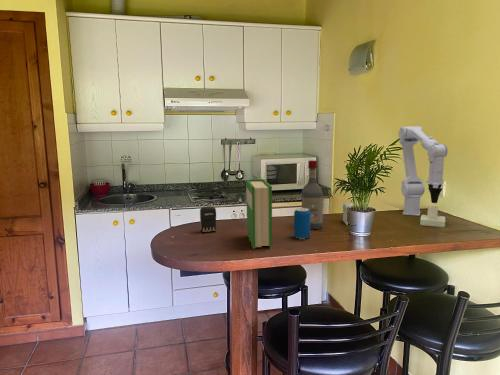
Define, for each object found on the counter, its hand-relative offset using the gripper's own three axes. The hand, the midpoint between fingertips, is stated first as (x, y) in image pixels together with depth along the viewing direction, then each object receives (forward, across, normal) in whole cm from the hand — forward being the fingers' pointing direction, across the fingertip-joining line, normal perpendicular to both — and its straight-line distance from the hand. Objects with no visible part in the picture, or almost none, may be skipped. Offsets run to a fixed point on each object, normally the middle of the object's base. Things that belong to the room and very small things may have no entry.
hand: (434, 201), depth 177 cm
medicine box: (+11, +13, -36) cm, 39 cm away
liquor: (+11, +25, -50) cm, 57 cm away
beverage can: (+11, +42, -50) cm, 66 cm away
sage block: (+10, 0, 0) cm, 10 cm away
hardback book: (+11, +54, -64) cm, 84 cm away
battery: (+11, +49, -90) cm, 103 cm away
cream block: (+8, 0, 0) cm, 8 cm away
